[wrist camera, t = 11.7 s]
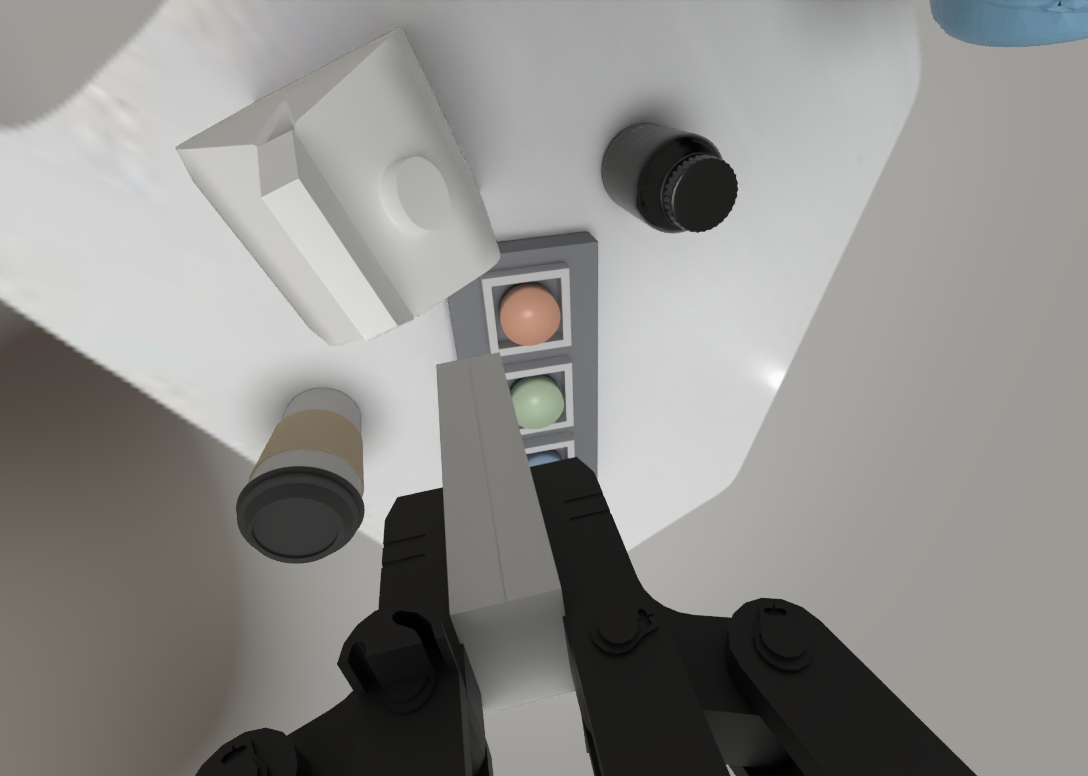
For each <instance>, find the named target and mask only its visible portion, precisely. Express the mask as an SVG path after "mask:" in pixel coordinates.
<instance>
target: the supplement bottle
mask: <svg viewBox="0 0 1088 776" xmlns="http://www.w3.org/2000/svg"><path fill="white" fill-rule="evenodd" d="M602 176H603V182H604V186H605V189H606V191H607V193H608V194H609V196H610V197H611V198H612V200H613V201H614V202H615V203H617V204H618V205H619V206H621V207H622V208H623V209H625V210H626V211H628V212H629V213H631V214H632V215H634V216H635V217H637V218H638V219H640V220H641V221H643V222H644V223H646V224H647V225H649V226H650V227H652V228H654V229H656V230H658V231H661V232H664V233H681V232H685V231H690V232H697V233H698V232H701V231H702V232H705V231H706V230H711V229H712V228H713V227H716V226H717V225H718V224H719V223H721V222H723V220H724V219H725V218H726V217H727V216H728V214H729V212H730V211H731V210H732V207H733V205H734V204H735V199H736V198H737V191H738V187H737V184H738V182H737V180H736V175H735V174H734V170H733V169H732V168H731V167H730V165H729V164H728V163H726V162H725V161H724V160H723V158H722V156H721V154H720V152H719V150H718V149H717V147H716V146H715V145H714V144H713V143H712V142H711V141H710V140H708V139H707V138H705V137H703V136H700V135H697V134H694V133H690V132H686V131H682V130H678V129H674V128H669V127H665V126H661V125H656V124H650V123H642V124H637V125H634V126H631V127H629V128H627V129H625V130H624V131H623V132H621V133H620V134H619V135H618V136H617V137H616V138H615V139H614V140H613V142H612V143H611V144H610V146H609V148H608V150H607V152H606V154H605V158H604V161H603V168H602Z"/></svg>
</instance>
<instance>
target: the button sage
mask: <svg viewBox="0 0 1088 776" xmlns="http://www.w3.org/2000/svg"><path fill="white" fill-rule="evenodd" d="M510 394H511V398H512V402H513V406H514V409H515V413H516V417H517V421H518V425H520V426H522V427H524V428H527V429H541V428H545V427H547V426H549V425H551V424H552V423H554V422H555V421H556V420H557V419H558V418H559V417H560V415H561V414H562V411H563V408H564V399H563V396H562V394H561V392H560V390H559V387H558V385H557V384H556V383H555V382H554V381H553V380H552V379H550V378H548V377H545V376H540V375H535V376H529V377H526V378H524V379H522V380H520V381H519V382H518V383H516V384H515V385H514V387H513V388H512V390H511V391H510Z"/></svg>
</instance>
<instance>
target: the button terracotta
mask: <svg viewBox="0 0 1088 776" xmlns="http://www.w3.org/2000/svg"><path fill="white" fill-rule="evenodd" d="M499 319H500V322H501V325H502V328H503V331H504V333H505V334H506V336H507V337H508V338H509V339H510V340H511V341H513V342H515V343H517V344H519V345H524V346H533V345H538V344H541V343H543V342H545V341H546V340H548V339H549V338H550V337H551V336H552V335H553V334H554V333H555V332H556V330H557V328H558V326H559V323H560V309H559V306H558V304H557V302H556V301H555V299H554V297H553V296H552V294H551V293H550V292H549V291H548V290H547V289H546V288H544V287H542V286H540V285H537V284H530V283H529V284H522V285H519V286H516V287H514V288H513V289H511V290H510V291H509V292H508V293H507V294H506V295H505V296H504V297H503V299H502V301H501V303H500V306H499Z"/></svg>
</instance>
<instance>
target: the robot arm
mask: <svg viewBox="0 0 1088 776" xmlns="http://www.w3.org/2000/svg"><path fill="white" fill-rule="evenodd" d="M930 6H931V12H932V15H933V18H934V19H935V21H936V22H937V23H938V24H939V25H940V26H941V28H942V29H944V31H945V32H946V33H947V34H948V35H950V36H952V37H954V38H956V39H958V40H961V41H963V42H967V43H971V44H976V45H982V46H993V47H994V46H995V47H1027V46H1040V45H1050V44H1057V43H1064V42H1070V41H1076V40H1080V39H1086V38H1088V0H930ZM436 367H437V386H438V405H439V423H440V442H441V461H442V479H443V488H438V489H433V490H429V491H424V492H420V493H415V494H411V495H406V496H401V497H397V499H396V501H395V503H394V504H393V506H392V508H391V510H390V512H389V514H388V515H387V517H386V519H385V527H384V540H383V544H384V548H383V556H382V566H383V568H382V569H381V582H380V596H379V610H377V611H374V612H373V613H372V614H371V615H370V616H368V617H367V618H365V619H364V620H363V621H362V622H360V623H359V624H358V625H357V626H356V627H355V629H354V630H353V631H352V633H351V634H350V636H349V637H348V639H347V640H346V641H345V642H344V645H343V647H342V651H341V654H340V657H339V660H338V663H337V665H338V666H339V668H340V669H341V671H342V673H343V674H344V676H345V678H346V679H347V681H348V682H349V684H350V686H351V687H352V689H353V691H352V692H351V693H350V694H349V695H348V696H347V698H345V699H344V700H343V701H342V702H340V703H339V704H337V705H336V706H335V707H333V708H332V709H331V710H329V711H327V712H326V713H324V714H322V715H321V716H319V717H318V718H316V719H314V720H312V721H311V722H309V723H307V724H306V725H304V726H302V727H301V728H299V729H297V730H295V731H294V732H292V733H291V734H289V735H287V736H286V735H285V734H284V733H283V732H281V731H277V730H273V729H269V728H262V729H257V730H253V731H248V732H244V733H243V734H241V735H239V736H237V737H236V738H234V739H232V740H231V741H229V742H227V743H225V744H224V745H222V747H220V748H219V749H218V750H217V751H216V752H215V753H214V754H213V755H212V756H211V757H210V758H209V759H208V760H207V761H206V762H205V763H204V764H203V765H202V766H201V768H200V769H199V771H198V772H197V774H196V776H493V768H492V759H491V754H490V751H489V748H488V744H487V741H486V738H485V730H484V719H483V710H482V706H483V709H484V712H485V714H489V713H493V712H496V711H500V710H504V709H508V708H511V707H515V706H519V705H523V704H526V703H530V702H534V701H537V700H542V699H545V698H549V697H553V696H556V695H560V694H564V693H568V692H572V691H576V695H577V699H578V703H579V707H580V711H581V715H582V722H583V729H584V736H585V743H586V750H587V753H589V755H590V759H591V763H592V768H593V772H594V776H730V774H729V771H728V769H727V767H726V764H728V765H729V766H730V768H731V769H732V771H733V772H734V774H735V775H736V776H977V775H976V774H975V773H974V772H973V771H972V770H971V769H970V768H969V767H968V766H967V765H966V764H965V763H964V762H963V761H961V759H960V758H959V757H957V756H956V755H955V754H954V753H953V752H952V751H951V750H950V749H949V748H948V747H947V746H946V745H945V744H944V743H943V742H942V741H941V740H940V739H939V738H938V737H937V736H936V735H935V734H934V733H933V732H932V731H931V730H930V729H929V728H928V727H927V726H926V725H925V724H924V723H923V722H922V721H921V720H920V719H919V718H918V717H917V716H916V715H915V714H914V713H913V712H912V711H911V710H910V709H909V708H908V707H907V706H906V705H905V704H904V703H903V702H902V701H901V700H900V699H899V698H898V697H897V696H896V695H895V694H894V693H893V692H892V691H891V690H890V689H888V687H887V686H886V685H885V684H883V682H882V681H881V680H880V679H879V678H878V677H877V676H876V675H875V674H874V673H872V671H871V670H870V669H869V668H868V667H866V666H865V665H864V664H863V663H862V662H861V661H860V660H859V659H858V658H857V657H856V656H855V655H854V654H853V653H852V652H851V651H850V650H849V649H848V648H847V647H846V646H845V645H844V644H843V643H842V642H841V641H840V640H839V639H838V638H837V637H836V636H835V635H834V634H833V633H832V632H831V631H830V630H829V629H828V628H827V627H826V626H825V625H824V624H823V623H822V622H821V621H820V620H819V619H817V618H816V617H815V616H813V615H812V614H811V613H809V612H808V611H807V610H805V609H804V608H803V607H800V606H798V605H795V604H793V603H790V602H787V601H785V600H782V599H771V598H760V599H757V600H753V601H750V602H747V603H745V604H743V605H742V606H741V607H740V608H739V609H738V610H737V611H736V612H735V613H734V614H733V616H732V618H727V617H714V616H701V615H700V616H699V615H691V614H686V613H680V612H677V611H675V610H672V609H670V608H667V607H665V606H663V605H662V604H660V603H659V602H657V601H656V600H654V599H653V598H652V597H651V596H650V595H649V594H648V593H647V592H646V591H645V590H644V588H643V587H642V585H641V583H640V581H639V580H638V578H637V575H636V573H635V570H634V568H633V566H632V563H631V561H630V559H629V556H628V553H627V551H626V548H625V546H624V544H623V541H622V539H621V536H620V534H619V531H618V529H617V527H616V524H615V522H614V519H613V517H612V514H610V510H609V507H608V505H607V502H606V500H605V497H603V493H602V490H601V488H600V485H599V483H598V480H597V478H596V475H595V473H594V471H592V470H591V469H590V468H589V467H588V466H587V465H586V464H585V463H583V462H582V461H581V460H580V459H579V458H578V457H573V458H568V459H563V460H559V461H554V462H550V463H545V464H540V465H536V466H531V467H529V463H528V459H527V455H526V452H525V448H524V444H523V440H522V436H521V432H520V429H519V425H518V421H517V417H516V413H515V409H514V406H513V402H512V398H511V394H510V390H509V387H508V383H507V379H506V375H505V371H504V367H503V364H502V360H501V356H500V352H499V353H493V354H488V355H483V356H478V357H473V358H468V359H463V360H457V361H452V362H447V363H442V364H437V365H436Z"/></svg>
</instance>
